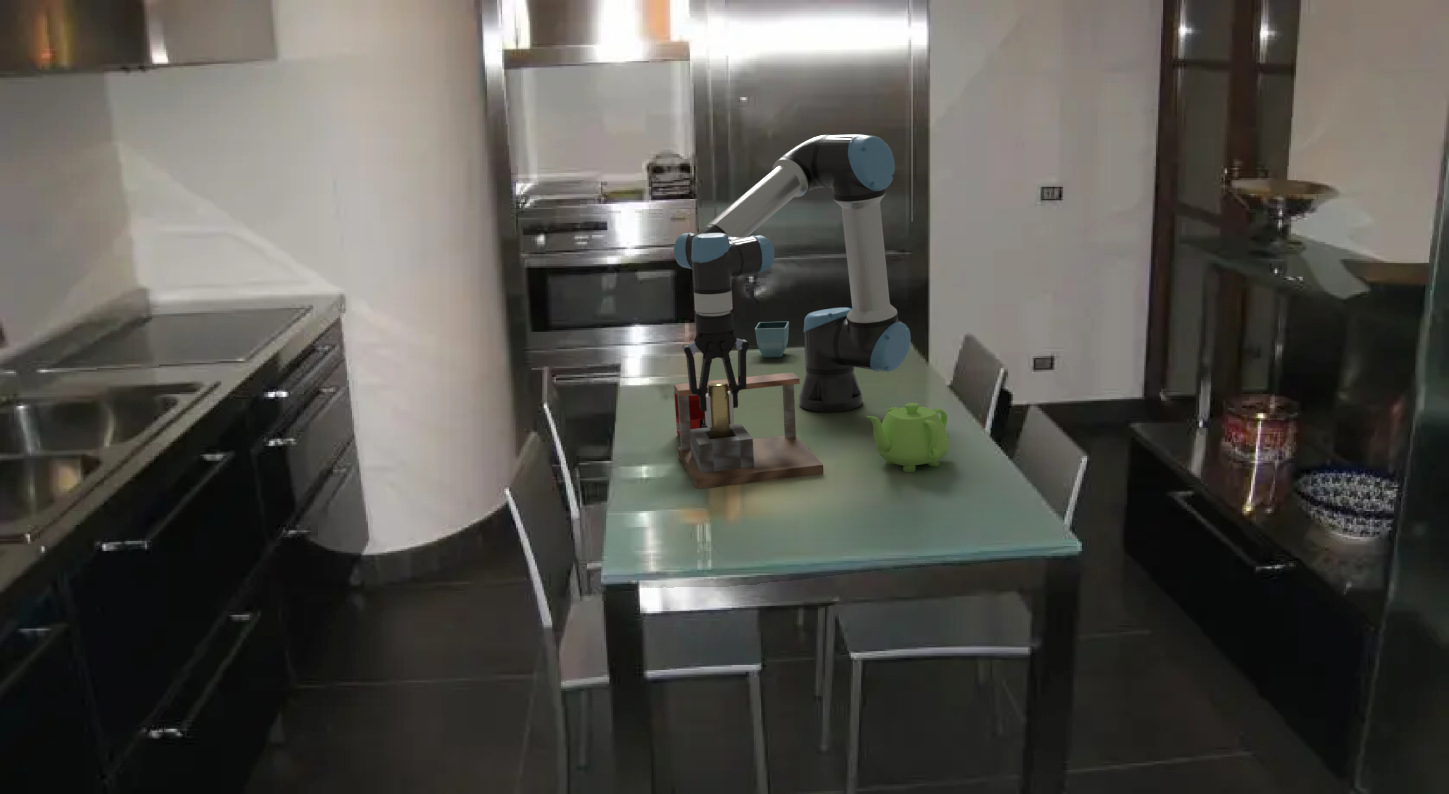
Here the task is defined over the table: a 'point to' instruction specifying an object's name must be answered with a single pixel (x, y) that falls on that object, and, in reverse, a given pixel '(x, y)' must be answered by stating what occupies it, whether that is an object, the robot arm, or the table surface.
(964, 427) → the table surface
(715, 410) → the peg
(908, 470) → the teapot
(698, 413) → the canned food
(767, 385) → the station
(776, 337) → the flower pot
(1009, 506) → the table surface
